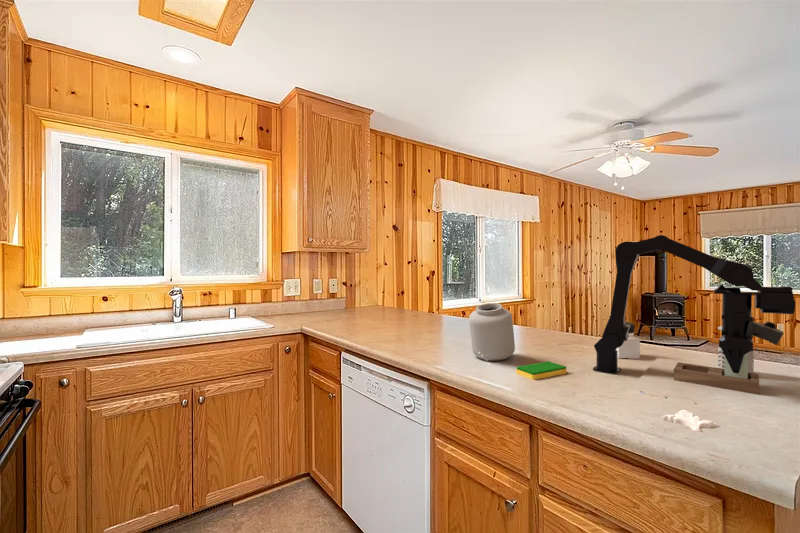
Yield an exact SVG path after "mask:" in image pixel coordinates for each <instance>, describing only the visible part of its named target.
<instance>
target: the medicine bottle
mask: <svg viewBox="0 0 800 533" xmlns="http://www.w3.org/2000/svg"><path fill="white" fill-rule="evenodd" d="M625 323H626V324H630V325H631V326H630V328H629V331H628V334H629V338H628V339H627V341H625V342H624V343H623V344H622V346H620V347H618V348H617V349H616V350H617V351H618V359H619V358H628V360H629V359H631V360H632V359H633V360H640V359H641V358H640V357H641V352H640V349H641V347H640V346H641V339H640V338H639V337H637V336H635V325H634V323H632V322H629V321H625Z"/></svg>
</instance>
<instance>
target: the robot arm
mask: <svg viewBox="0 0 800 533" xmlns="http://www.w3.org/2000/svg"><path fill="white" fill-rule="evenodd" d="M659 250H661V251H663V252H666V253H669V254H671V255H674V256H675V257H678V258H680V259H682V260H684V261H688V262H689V263H692V264H694V265H697V266H699V267H701V268H703V269H705V270H707V271H708V272H709V273H711V274H713V275H715V276H716V277H718V278H719V279H721V280H723V281H724V282H726V283H727V284H729V285H732V286H734V287H732V286H731V287H727V286H724V285H723V284H722V283H720V284H719V285H718V287H716V288H715V289H713V293H714V294H717V295H719V294H721V295H722V297H721V298H722V299H721V300H722V302H721V303H722V304H721V326H722V331H721V336H720V337H719V339H718V346H719V347H720V348H721V349H722V351H723V353H724V355H725V357H726V359H727V361H728V363H729V365H730V367H731V369H732V371H733V373H739V370H740V367H741V363H742V360H743V357H744V355H745V354H746V353H748V352H751V351H753V350H754V341H753V338H754V337H756V338H758V339H762V340H764V341H767V342H769V343H770V344H772V345H778V344H779V342H780V341H781V339H782V337H783V335H784V331H782V330H781V329H777V325H776V323H775V322H771V321H766V322H764V323H761V322H758V321H754V316H752V314H753V312H752V310H753V308H752V307H753V304H752V299H753V296H754V299H753V300H754V301H753V302H754V308H755V309H759V310H760V313H761V314H778V315H791V316H792V315H794V314H795V311H796V300H795V296H794V293H793V287H792V286H783V285H782V286H762V284H761V283H759V282H758V281H757V280H756V279H755V277H754V271H753V269H752V268H751V266H748V265H747V264H744V263H739V262H736V261H732V260H728V259H725V258H719V257H716V256H713V255H710V254H708V253H705V252H703V251H700V250H697V249H695V248H693V247H691V246H688V245H685V244H683V243H681V242H679V241H676V240H675V239H671V238H669V237H668V236H666V235H662V234H660V235H659V234H658V235H655V237H650V238H648V239H647V238H646V239H643V240H639V241H635V242H631V241H623V242H621V243H619V244H618V245H617V246H616V247H615V253H614V254H615V265H616V277H615V283H614V290H613V296H612V303H611V309H610V314H609V315H610V316H609V318H608V321H607V323H606V325H605V328H604V330H603V333H602V336H601V338H600V339H598V341H597V342H596V343H594V345H593V347H594V349H595V352H596V365H595V366H594V367H592V370H593V371H597V372H603V373H608V374H614V375H616V374H618V373H619V372H620V371H621V370H622V368H621V367H618V366H619V365H618V364H619V363H618V359H619V358H618V351H617V350H616V349H617V348H618V347H620V346H622V344H623V343H624V342H625V341H627V339H628V338H629V334H628V331H629V328H630V326H631V325H630V324H626V323H625V322H626V312H627V305H628V300H629V293H630V287H631V282H632V275H633V271H634V269H635V267H636V265H637V262H638V260H639V257H640V255H643V254H648V253H651V252H654V251H659ZM741 286H743V287H745V288H747V289H749V290H750V291H742V290H741Z"/></svg>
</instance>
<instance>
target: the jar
mask: <svg viewBox="0 0 800 533" xmlns="http://www.w3.org/2000/svg"><path fill="white" fill-rule="evenodd" d="M487 289H488V290H487V292H490V287H487ZM488 297H490V298H491V299H492V300H493V296H491V294H489V296H488ZM484 298H485V297H482V300H484ZM468 324H469V331H470V332H469V334H470V340H471V341H470V342H471V349H472V353H473V355H474V356H476V357H477V358H479V359H480V360H484V361H490V362H491V361H492V362H494V361H495V362H497V361H503V360H505V359H508V358H510V357H511V356H512V355H513V354H514V353H515V351H516V350H515V349H516V345H515V333H514V322H513V314H512V312H510V311H509V310H508V309H506V308H504V307H503V305H502V304H501V303H499V302H498V301H497V302H496V303H495V302H487V303H481V304H479V305H477V306H476V307H475V310H474V311H472V312H471V313H470V314H469V317H468ZM488 365H491V363H488Z"/></svg>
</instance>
